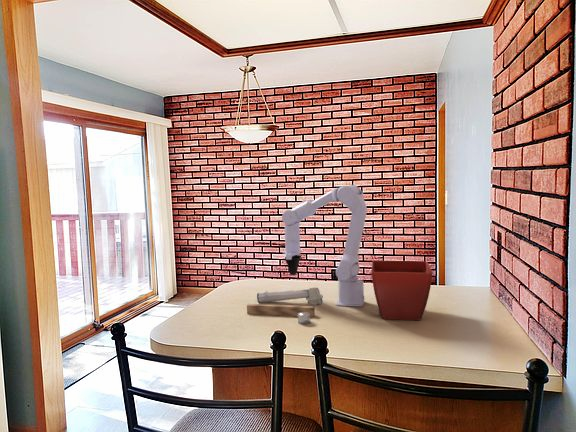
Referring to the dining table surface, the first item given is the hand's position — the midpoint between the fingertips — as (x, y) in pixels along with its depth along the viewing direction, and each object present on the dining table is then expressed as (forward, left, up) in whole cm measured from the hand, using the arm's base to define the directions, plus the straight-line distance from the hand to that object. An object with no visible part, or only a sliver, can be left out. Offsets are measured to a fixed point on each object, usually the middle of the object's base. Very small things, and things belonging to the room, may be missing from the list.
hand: (293, 274), depth 180 cm
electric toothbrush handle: (0, +7, -10) cm, 12 cm away
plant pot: (-41, +16, -10) cm, 45 cm away
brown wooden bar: (0, +22, -9) cm, 23 cm away
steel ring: (-10, +29, -10) cm, 32 cm away
